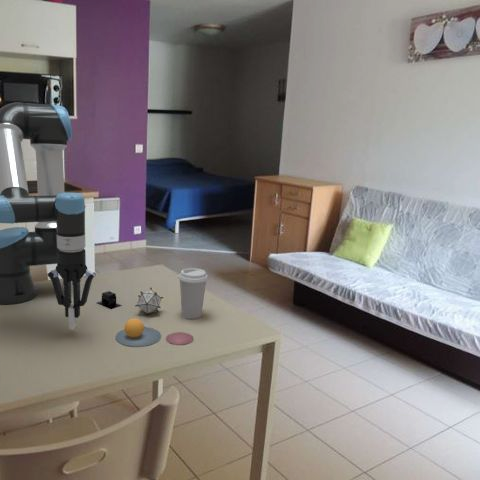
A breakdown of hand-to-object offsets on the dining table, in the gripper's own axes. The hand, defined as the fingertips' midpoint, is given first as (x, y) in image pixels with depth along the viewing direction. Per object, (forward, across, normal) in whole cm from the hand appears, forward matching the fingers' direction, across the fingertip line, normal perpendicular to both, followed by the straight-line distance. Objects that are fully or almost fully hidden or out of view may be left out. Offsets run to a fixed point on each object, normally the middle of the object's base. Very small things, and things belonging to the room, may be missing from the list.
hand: (72, 327), depth 138 cm
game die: (+2, +19, +18) cm, 26 cm away
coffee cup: (+2, +33, +18) cm, 38 cm away
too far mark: (+2, +31, 0) cm, 31 cm away
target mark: (+2, +19, 0) cm, 19 cm away
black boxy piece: (+3, +4, +24) cm, 24 cm away
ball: (-1, +18, 0) cm, 18 cm away
